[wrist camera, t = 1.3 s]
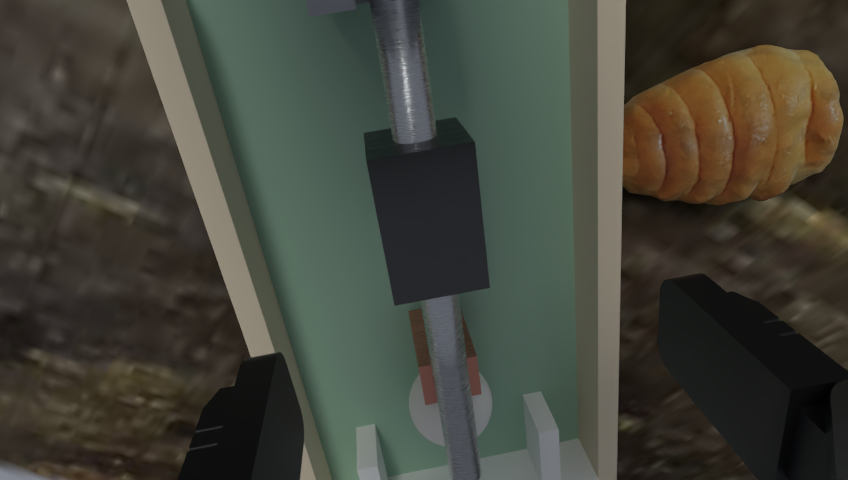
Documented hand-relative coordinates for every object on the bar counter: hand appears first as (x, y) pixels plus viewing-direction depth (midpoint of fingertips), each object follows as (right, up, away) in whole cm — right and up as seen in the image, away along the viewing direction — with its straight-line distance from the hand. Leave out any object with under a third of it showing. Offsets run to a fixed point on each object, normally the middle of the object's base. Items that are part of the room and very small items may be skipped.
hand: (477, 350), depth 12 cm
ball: (0, -5, +15) cm, 16 cm away
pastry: (+12, +8, +14) cm, 20 cm away
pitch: (-1, +1, +15) cm, 15 cm away
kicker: (-2, +5, +11) cm, 13 cm away
